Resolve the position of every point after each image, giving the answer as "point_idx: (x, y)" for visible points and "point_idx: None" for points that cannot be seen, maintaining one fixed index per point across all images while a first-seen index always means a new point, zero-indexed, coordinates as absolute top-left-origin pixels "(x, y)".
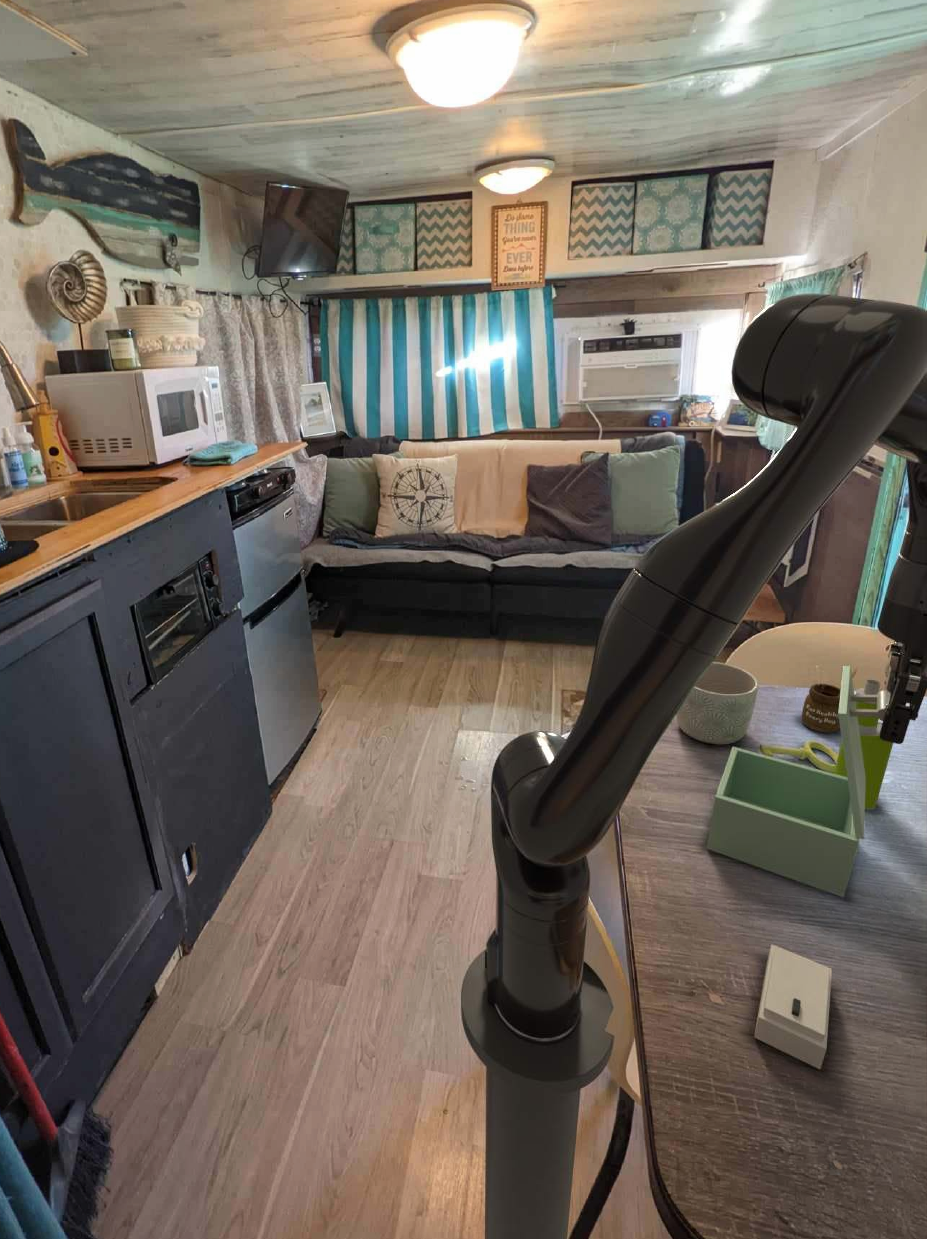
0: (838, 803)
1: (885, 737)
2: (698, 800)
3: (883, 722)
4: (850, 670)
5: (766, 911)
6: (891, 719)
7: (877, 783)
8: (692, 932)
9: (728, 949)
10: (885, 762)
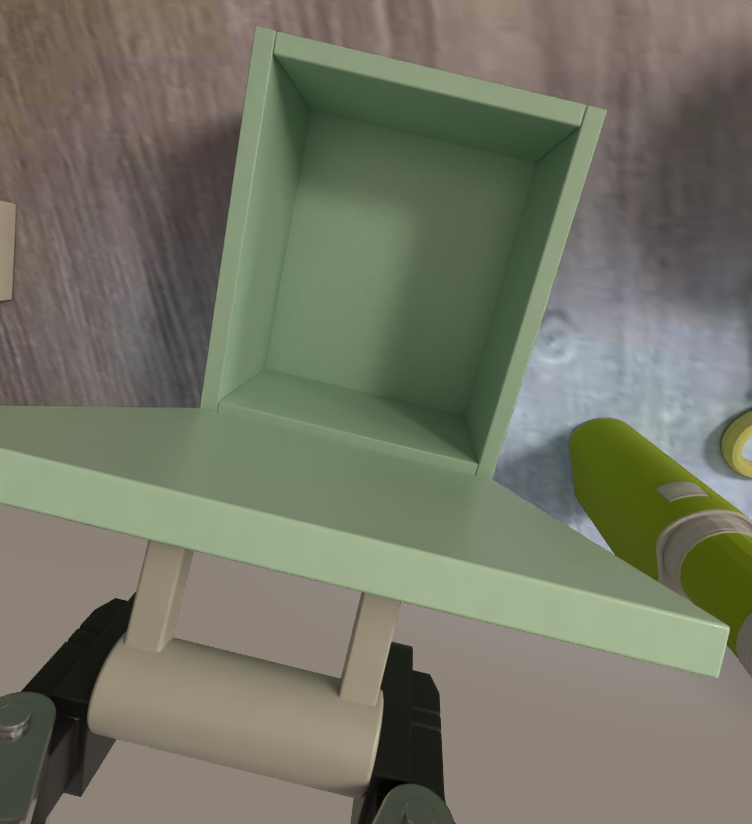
0: (475, 418)
1: (110, 604)
2: (505, 76)
3: (96, 639)
4: (635, 656)
5: (152, 219)
6: (24, 689)
7: (598, 528)
8: (22, 54)
9: (15, 131)
10: None
